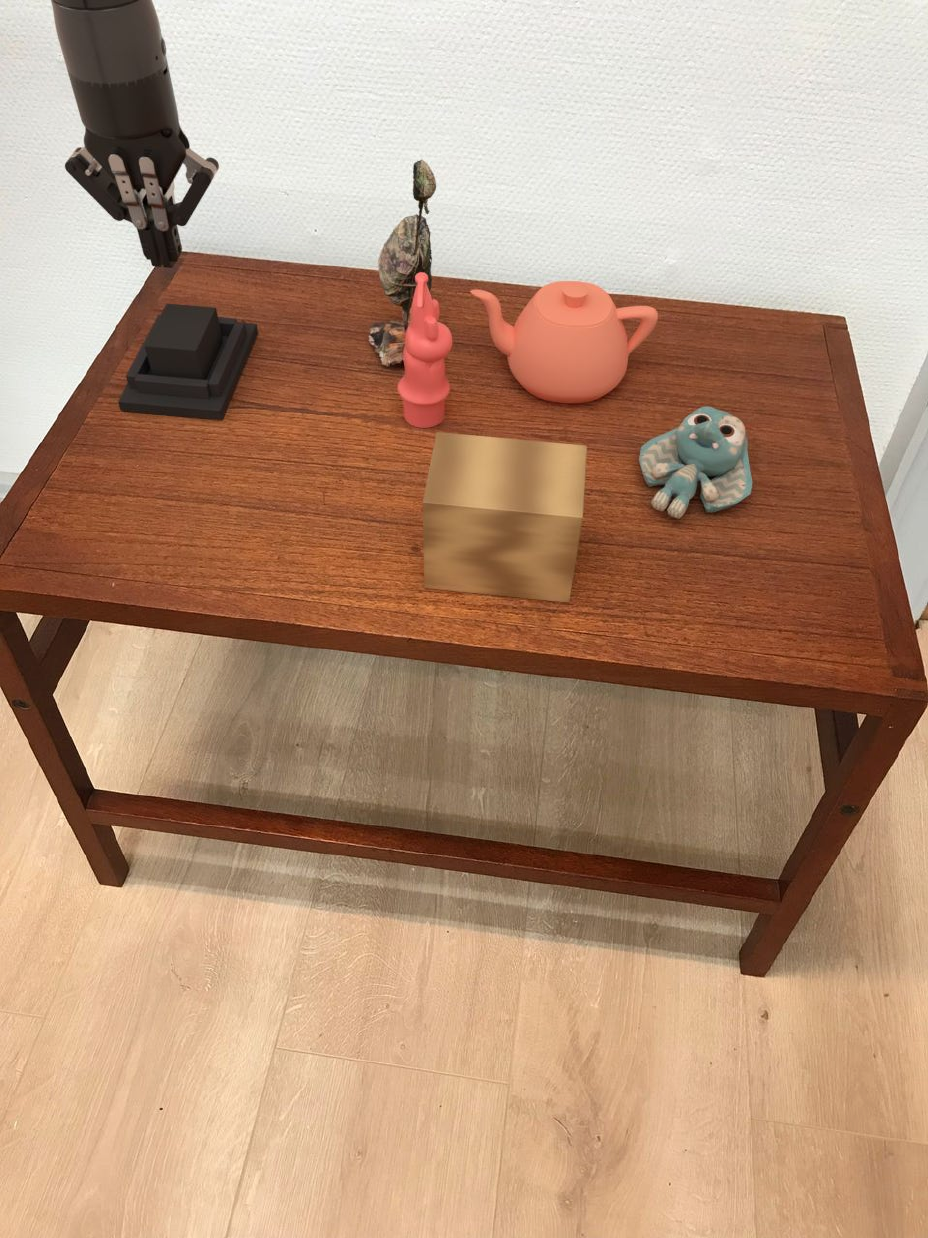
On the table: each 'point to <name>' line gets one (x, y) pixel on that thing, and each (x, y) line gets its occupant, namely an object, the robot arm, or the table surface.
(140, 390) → the base pad
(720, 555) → the table surface
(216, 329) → the small black block
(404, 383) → the figurine
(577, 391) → the teapot
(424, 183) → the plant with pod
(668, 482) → the stuffed animal
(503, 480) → the oak block
